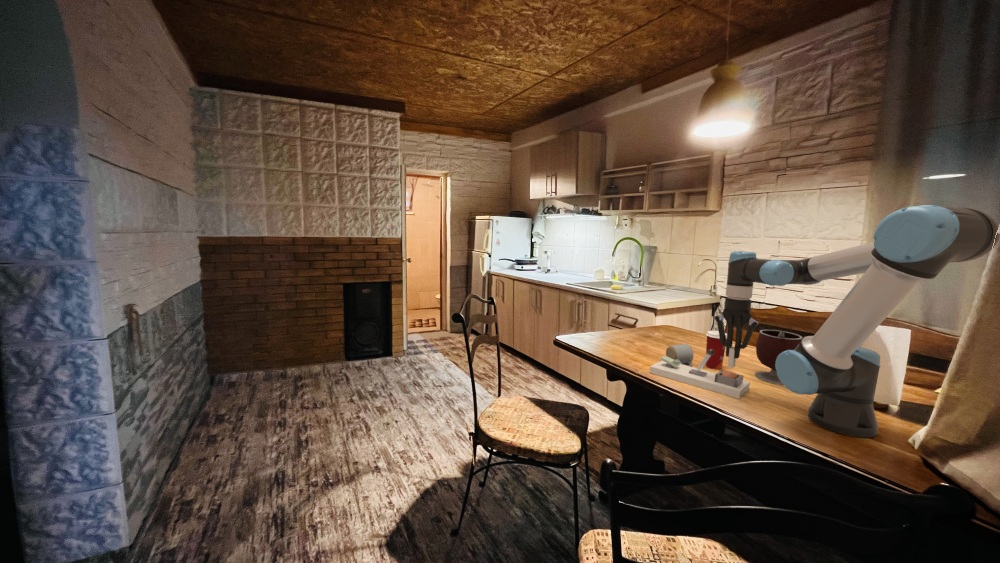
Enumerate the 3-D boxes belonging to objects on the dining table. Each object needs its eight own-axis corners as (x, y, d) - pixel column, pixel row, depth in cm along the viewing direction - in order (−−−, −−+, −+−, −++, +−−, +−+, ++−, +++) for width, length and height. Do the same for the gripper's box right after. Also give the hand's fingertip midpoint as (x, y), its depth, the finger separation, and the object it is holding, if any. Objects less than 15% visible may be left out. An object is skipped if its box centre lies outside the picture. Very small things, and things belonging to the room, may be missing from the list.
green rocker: (679, 365, 149) (681, 361, 149) (676, 367, 147) (677, 363, 146) (664, 358, 153) (665, 354, 153) (660, 359, 151) (661, 355, 150)
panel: (749, 389, 137) (750, 375, 137) (739, 398, 129) (740, 383, 128) (662, 365, 158) (664, 353, 158) (649, 372, 150) (650, 359, 149)
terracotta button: (737, 380, 136) (738, 373, 136) (734, 383, 133) (734, 376, 133) (723, 376, 139) (724, 369, 139) (719, 379, 136) (720, 372, 136)
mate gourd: (752, 369, 157) (758, 320, 155) (796, 377, 150) (803, 325, 147) (752, 381, 144) (759, 327, 142) (799, 391, 137) (808, 334, 134)
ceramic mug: (663, 360, 166) (665, 342, 164) (681, 359, 167) (683, 341, 166) (679, 369, 155) (681, 350, 154) (698, 368, 157) (700, 349, 156)
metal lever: (702, 371, 143) (716, 351, 139) (699, 372, 142) (714, 352, 138) (696, 367, 144) (710, 347, 141) (694, 368, 143) (708, 348, 139)
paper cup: (727, 371, 155) (731, 336, 153) (706, 369, 156) (710, 334, 154) (720, 364, 162) (723, 330, 160) (699, 362, 163) (703, 329, 161)
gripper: (764, 299, 130) (756, 369, 133) (720, 294, 139) (714, 359, 142) (758, 301, 125) (750, 374, 128) (713, 296, 134) (706, 364, 137)
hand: (731, 366), depth 135 cm, fingers closed
